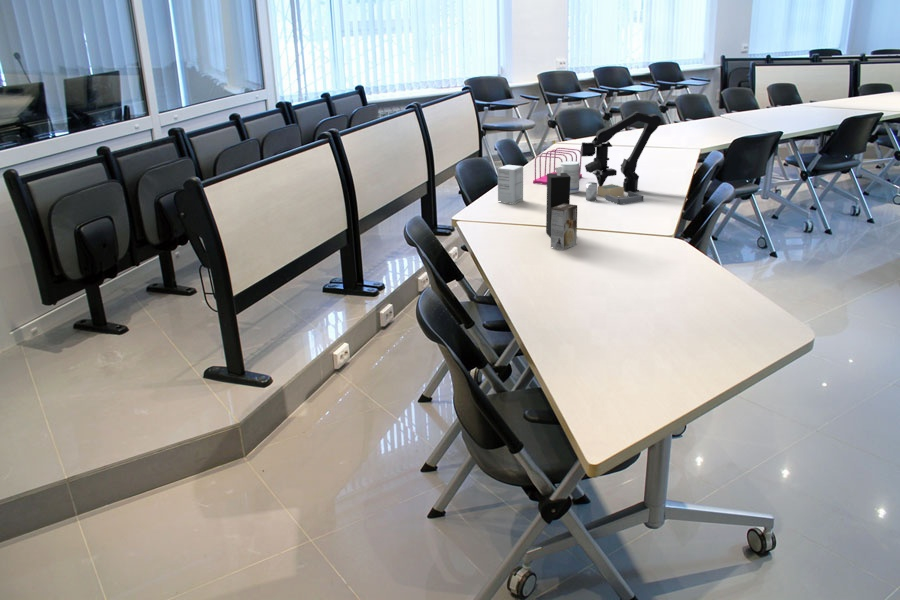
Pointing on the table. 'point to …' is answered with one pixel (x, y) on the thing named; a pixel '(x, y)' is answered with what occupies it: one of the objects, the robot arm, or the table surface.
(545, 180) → the file sorter
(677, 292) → the table surface
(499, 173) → the supplement box
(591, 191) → the grey rounded block
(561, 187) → the tall black pillar
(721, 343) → the table surface
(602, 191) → the carton
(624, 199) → the gray u-shaped frame
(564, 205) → the coffee box
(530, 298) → the table surface
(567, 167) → the supplement tub
